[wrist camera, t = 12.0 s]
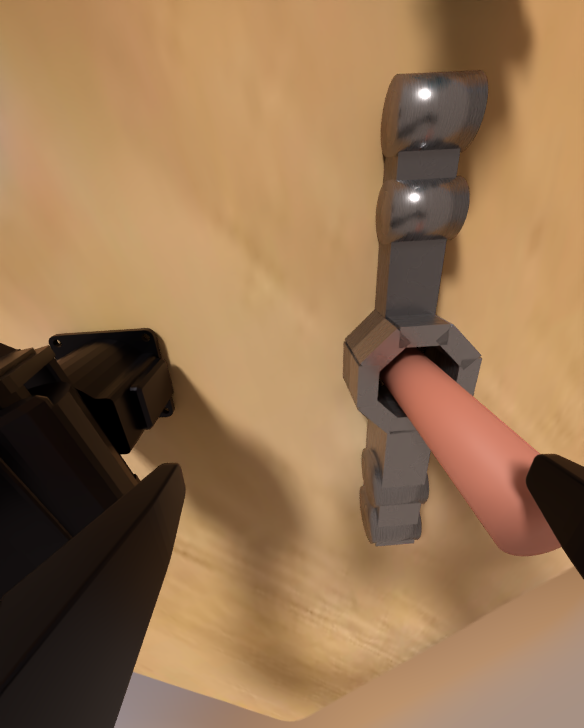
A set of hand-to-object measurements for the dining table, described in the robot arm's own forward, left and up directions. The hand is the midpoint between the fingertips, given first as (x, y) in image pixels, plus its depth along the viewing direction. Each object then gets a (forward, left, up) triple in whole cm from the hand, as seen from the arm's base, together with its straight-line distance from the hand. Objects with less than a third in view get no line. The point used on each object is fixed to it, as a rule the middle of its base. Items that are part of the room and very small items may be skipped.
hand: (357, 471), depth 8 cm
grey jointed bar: (+6, -3, -13) cm, 15 cm away
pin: (+6, -3, -13) cm, 15 cm away
